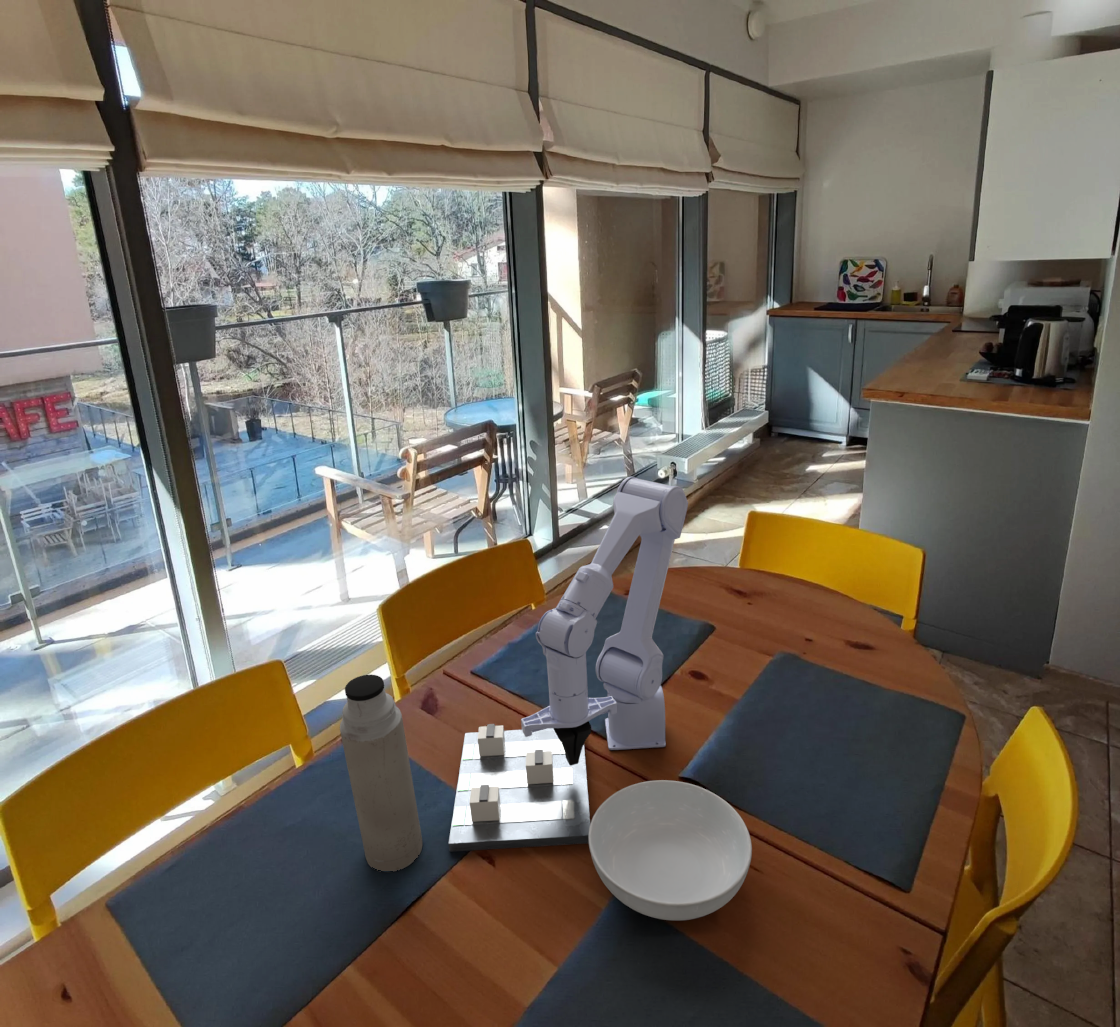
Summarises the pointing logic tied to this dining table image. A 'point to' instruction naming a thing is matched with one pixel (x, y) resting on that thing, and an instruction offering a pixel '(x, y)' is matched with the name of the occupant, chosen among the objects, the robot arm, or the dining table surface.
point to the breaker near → (485, 803)
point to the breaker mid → (539, 767)
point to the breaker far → (491, 740)
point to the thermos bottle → (380, 775)
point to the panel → (521, 796)
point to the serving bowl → (670, 849)
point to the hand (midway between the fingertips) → (572, 760)
